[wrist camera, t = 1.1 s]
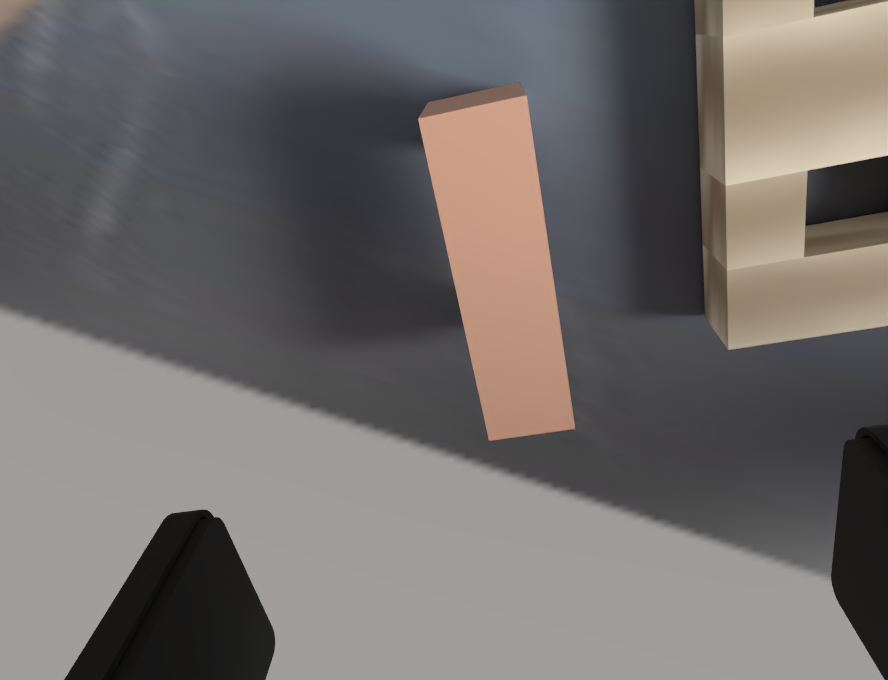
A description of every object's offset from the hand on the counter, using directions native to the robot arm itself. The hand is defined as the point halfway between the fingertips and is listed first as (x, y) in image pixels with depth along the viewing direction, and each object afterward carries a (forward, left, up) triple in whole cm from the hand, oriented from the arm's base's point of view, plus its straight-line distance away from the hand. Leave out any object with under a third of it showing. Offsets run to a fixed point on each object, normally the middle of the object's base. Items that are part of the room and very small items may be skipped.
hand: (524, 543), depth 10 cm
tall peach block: (-1, 0, -19) cm, 19 cm away
